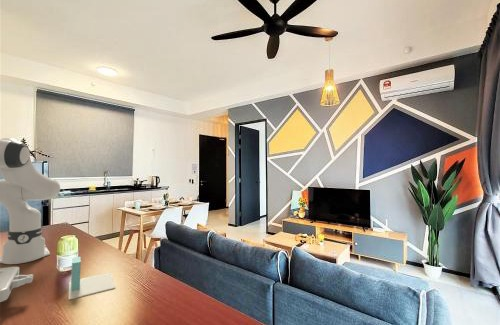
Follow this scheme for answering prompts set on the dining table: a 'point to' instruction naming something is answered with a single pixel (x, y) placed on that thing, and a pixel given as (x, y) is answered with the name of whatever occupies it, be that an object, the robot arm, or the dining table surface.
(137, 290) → the dining table surface
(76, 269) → the slab
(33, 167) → the robot arm
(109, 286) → the mat
